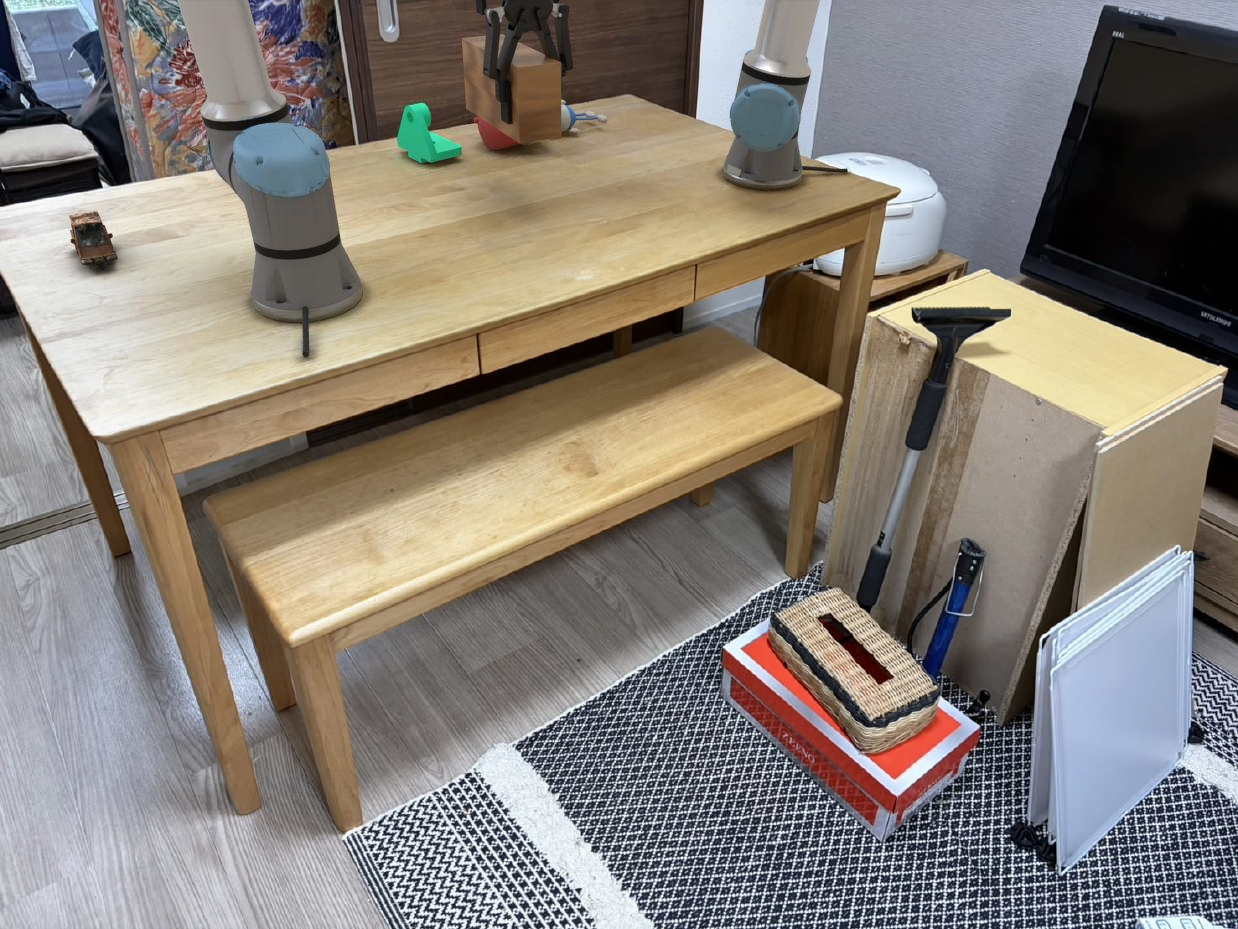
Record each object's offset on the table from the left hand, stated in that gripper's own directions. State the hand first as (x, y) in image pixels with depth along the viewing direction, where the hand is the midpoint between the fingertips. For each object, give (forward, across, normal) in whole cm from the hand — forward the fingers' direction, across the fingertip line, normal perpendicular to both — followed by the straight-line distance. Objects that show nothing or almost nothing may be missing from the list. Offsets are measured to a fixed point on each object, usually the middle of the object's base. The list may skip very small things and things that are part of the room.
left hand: (529, 118), depth 154 cm
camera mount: (+16, +5, -35) cm, 39 cm away
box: (+2, 0, -7) cm, 7 cm away
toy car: (+17, +68, -14) cm, 72 cm away
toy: (+16, -20, -36) cm, 44 cm away
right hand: (-13, -6, -16) cm, 21 cm away
